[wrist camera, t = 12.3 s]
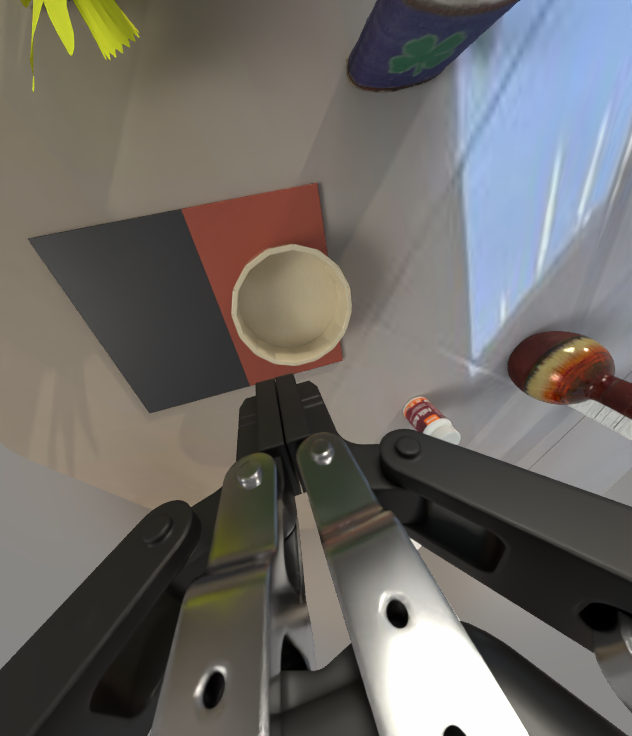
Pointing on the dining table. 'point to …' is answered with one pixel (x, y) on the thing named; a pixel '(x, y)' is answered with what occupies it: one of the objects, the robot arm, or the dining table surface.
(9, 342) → the dining table surface
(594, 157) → the dining table surface
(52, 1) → the daffodil flowers
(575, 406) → the syrup box
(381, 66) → the flask
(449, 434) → the pill bottle
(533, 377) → the vase
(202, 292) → the placemat
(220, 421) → the dining table surface
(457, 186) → the dining table surface
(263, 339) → the bowl
